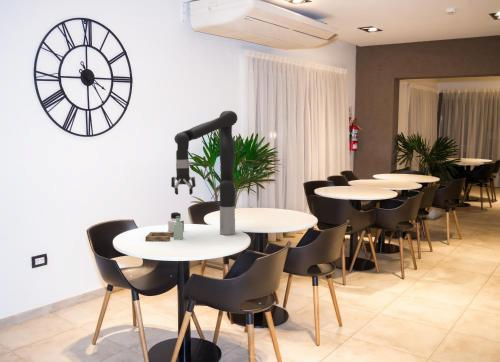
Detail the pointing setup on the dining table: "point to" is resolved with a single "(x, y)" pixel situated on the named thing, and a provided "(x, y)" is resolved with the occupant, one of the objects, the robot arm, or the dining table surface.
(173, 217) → the medicine bottle
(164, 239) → the tray
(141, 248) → the dining table surface
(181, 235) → the bottle
